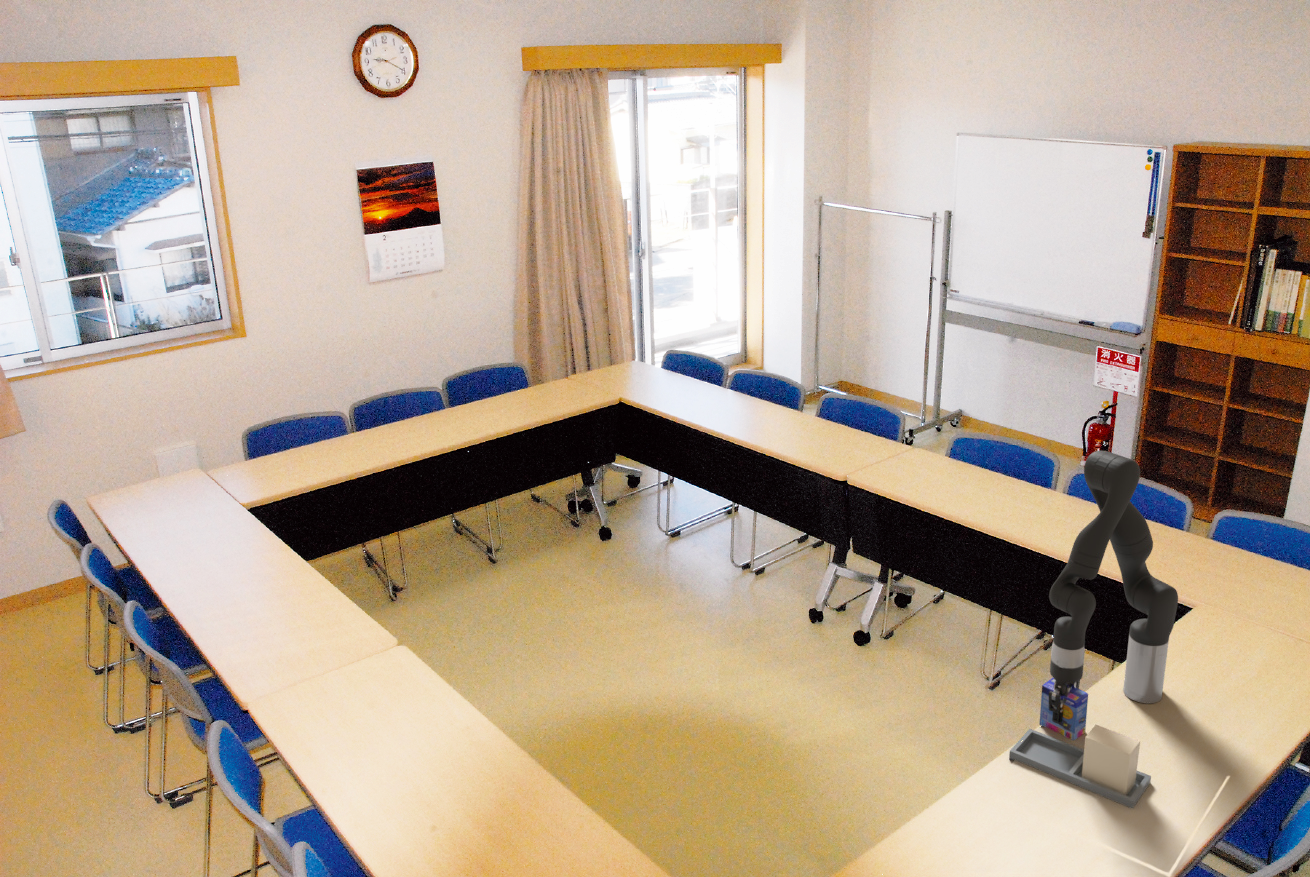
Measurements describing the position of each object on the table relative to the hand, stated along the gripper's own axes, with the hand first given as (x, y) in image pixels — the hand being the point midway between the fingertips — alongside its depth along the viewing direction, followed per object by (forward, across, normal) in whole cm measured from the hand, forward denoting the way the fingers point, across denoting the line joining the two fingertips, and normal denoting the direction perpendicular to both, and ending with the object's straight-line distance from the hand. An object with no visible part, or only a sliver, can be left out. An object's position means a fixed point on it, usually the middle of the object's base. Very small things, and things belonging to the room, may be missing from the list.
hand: (1062, 716), depth 261 cm
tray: (+4, +13, +10) cm, 17 cm away
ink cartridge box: (+4, 0, 0) cm, 4 cm away
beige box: (+4, +13, +16) cm, 21 cm away
